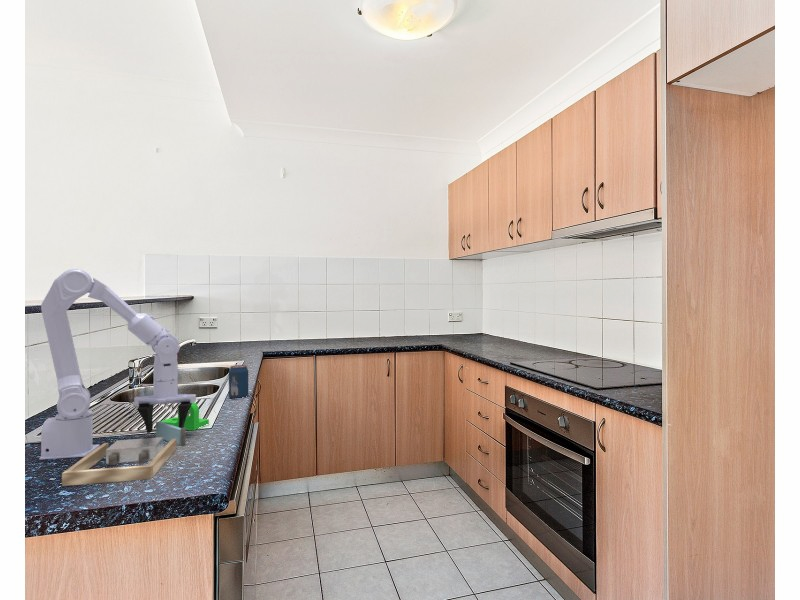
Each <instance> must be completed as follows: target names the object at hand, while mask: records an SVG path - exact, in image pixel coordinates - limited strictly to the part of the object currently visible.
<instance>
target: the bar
mask: <svg viewBox="0 0 800 600" xmlns="http://www.w3.org/2000/svg"><path fill="white" fill-rule="evenodd" d="M161 421H162V420H161ZM161 421H160V420H159V421H155V438H157V437H163V441H166V442H168V443H169V442H170V441H171V440H172V439H177V446H181V428H179V427H176V426H173V425H170V424H167V423H164V422H161Z"/></svg>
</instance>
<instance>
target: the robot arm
mask: <svg viewBox="0 0 800 600" xmlns="http://www.w3.org/2000/svg"><path fill="white" fill-rule="evenodd" d="M86 294H88V296H87V297H88V298H91V299H93V300H97V301H101V302H102V303H103V304H105V305H106V306H107V307H108V308H110V309H111V310H112V311H114V312H115V313H116V314H117V315H118V316H120V317H121V318H122V319H124V320H125V321H126V322H127V330H128V331H129V332H131V333H132V334H133V335H134V336H135V337H137V339H139V340H140V341H141V342H143V343H144V344H145V345H146V346H150V347H151V348H152V351H153V352H154V355H153V357H154V362H153V384H152V385H153V394H152V395H145V396H136V397H134V398H133V400H134V401H133V404H134V406H135V407H137V406H138V407H137V412H138V413H139V415H140V417H141V418H142V420H143V424H145V428H146V433H147V434H151V433H152V431H153V429H154V428H153V427H154V425H153V423H154V422H153V412H154V405H165V404H167V405H169V404H179V405H177V412H178V411H179V428H183V427H184V423H185V420H186V416H187V414H188V413H189V412H190V411H189V409H190V407H191V405H192V403H194V402H195V403H196V402H197V394H195V393H194V394H193V393H192V394H191V393H190V394H187V393H179V392H178V391H179V389H178V386H179V385H178V383H179V382H178V381H179V379H178V377H179V374H178V373H179V372H178V371H179V370H178V369H179V368H178V367H179V365H178V364H179V363H178V353H179V351H180V348H181V345H179V340H178V339H177V338H176V337H175V336H173V335H172V334H171V333H170V330H168V328H164V327H163V326H162V325H160V324H159V323H158V322H157V320H155V319H156V317H155V316H154V315H152V314H151V315H149V314H148V313H146V312H145V313H144V312H143V313H138V312H137V311H135V310H134V308H132V307H131V306H130V304H128V303H127V302H126V301H125V300H124V299H122V298H121V297H120V296H119V295H118V294H117V293H115V291H114V290H112V289H111V288H110V287H109V286H107V284H105V283H103V282H101V281H100V280H98V279H96V278H95V277H92V276H91V275H90V274H89V273H88V272H87V271H85V270H83V269H79V268H71V269H68V270H65V271H64V272H63V273H61V274H60V275H59V276H58V277H57V278H55V279H54V280H53V283H52V284H51V286H50V288H49V290H48V292H47V294H46V295H45V297H44V299H43V300H42V302H41V305H40V309H41V314H42V318H43V323H44V328H45V332H46V336H47V339H48V340H47V341H48V345H49V349H50V355H51V358H52V363H53V367H54V371H55V375H56V381H57V389H58V390H57V391H58V395H59V396H58V400H57V403H56V410H57V412H58V413H56V415H55V416H54V417H48V418H46V420H45V421H44V422H43V424H42V426H41V432H40V433H41V434H40V435H41V436H40V438H41V439H40V443H41V445H40V446H41V447H40V448H41V449H40V451H41V452H40V454H41V455H40V457H39V460H52V459H53V460H54V459H68V458H81V457H82V458H84V457H85V456H87V455H88V454H90V453H91V452H92V451H94V450H95V449H96V448H98V447H99V446H101V444H99V443H98V444H93V441H94V440H93V436H94V435H93V432H94V431H93V428H94V427H93V422H94V421H93V411H92V410H90V409H89V408H90V406H91V392H90V391H89V389H88V388H86V387H85V384H84V381H83V378H82V375H81V371H80V370H81V369H80V366H79V362H78V357H77V353H76V348H75V344H74V340H73V335H72V330H71V326H70V321H69V317H68V313H67V312H68V310H69V308H70V307H71V306H72V305H73V304H75V302H76V300H78V299H79V298H81V297H83V296H85V295H86ZM188 415H189V414H188Z"/></svg>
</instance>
